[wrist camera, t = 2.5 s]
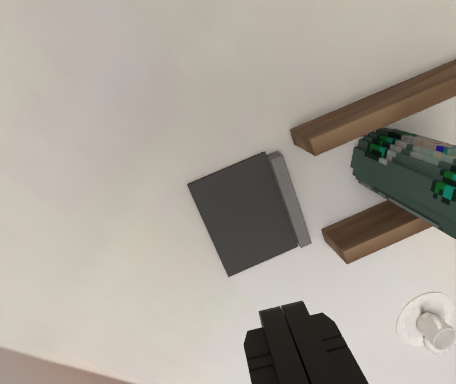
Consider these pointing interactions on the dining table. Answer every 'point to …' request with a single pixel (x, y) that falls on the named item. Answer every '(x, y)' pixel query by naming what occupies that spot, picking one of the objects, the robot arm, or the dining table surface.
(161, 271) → the dining table surface
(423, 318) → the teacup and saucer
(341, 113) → the lane
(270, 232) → the mat
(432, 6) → the dining table surface
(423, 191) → the can
